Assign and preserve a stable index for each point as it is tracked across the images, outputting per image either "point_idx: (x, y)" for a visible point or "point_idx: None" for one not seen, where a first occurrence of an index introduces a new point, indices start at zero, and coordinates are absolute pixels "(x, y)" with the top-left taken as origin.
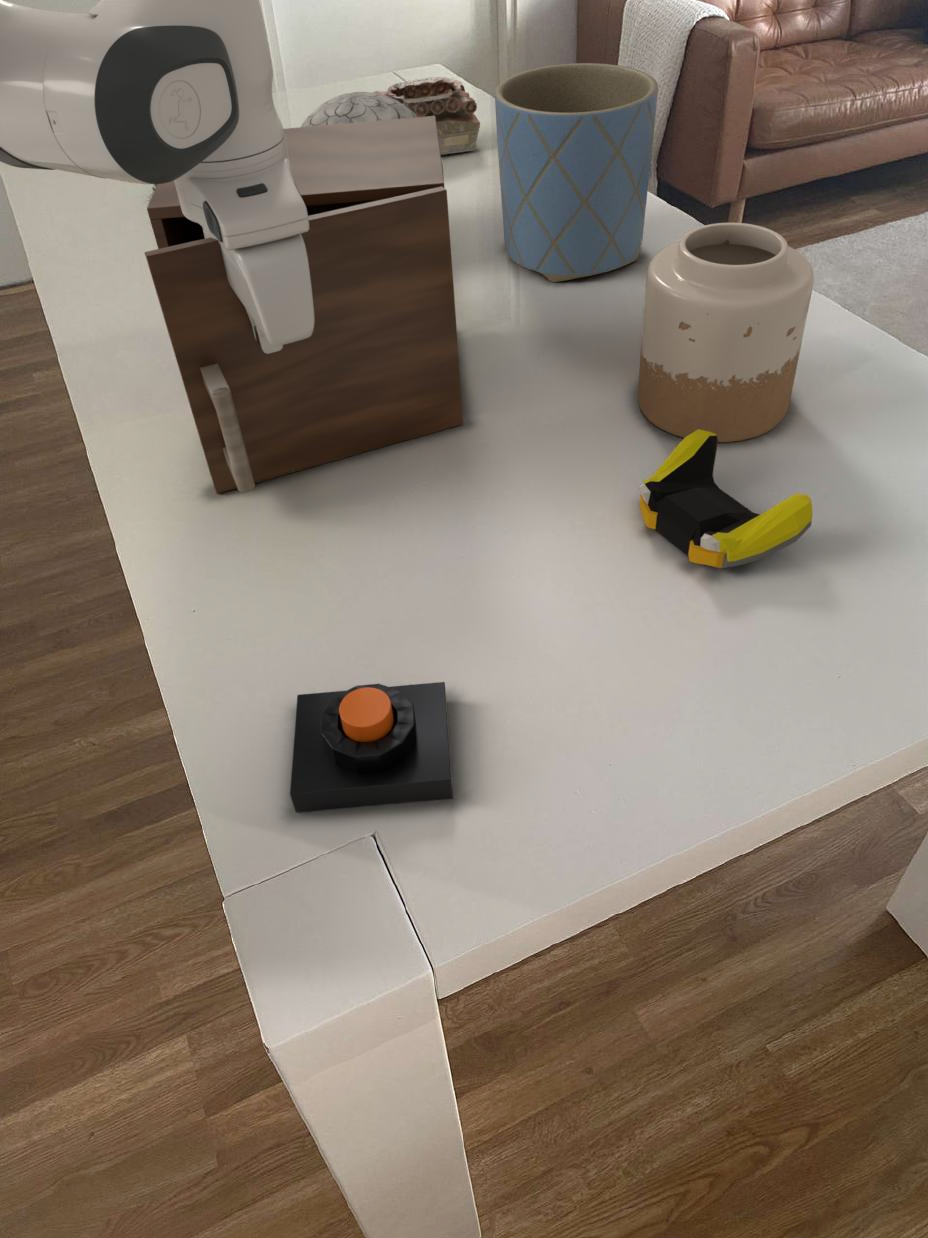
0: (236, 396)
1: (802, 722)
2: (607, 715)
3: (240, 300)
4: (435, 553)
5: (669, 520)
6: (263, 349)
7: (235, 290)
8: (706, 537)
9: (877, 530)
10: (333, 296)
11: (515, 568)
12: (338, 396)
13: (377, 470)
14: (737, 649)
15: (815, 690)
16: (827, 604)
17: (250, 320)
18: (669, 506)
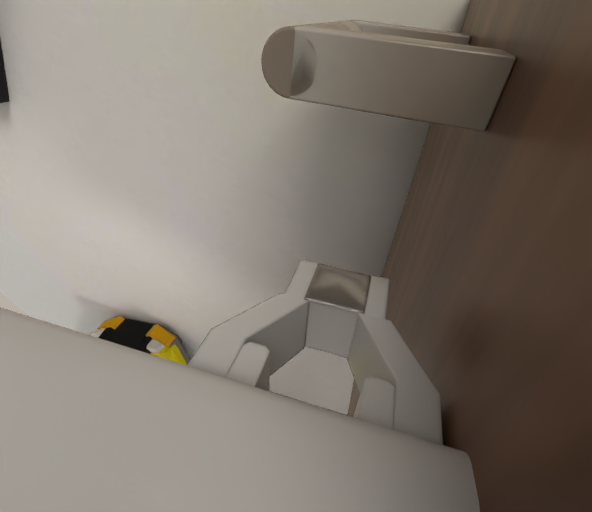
0: (458, 129)
1: (3, 265)
2: (2, 193)
3: (247, 393)
4: (187, 200)
5: (133, 335)
6: (300, 264)
7: (283, 443)
8: (92, 335)
9: None
10: None
11: (148, 238)
12: (391, 282)
13: (349, 233)
14: (53, 281)
15: (24, 284)
16: (81, 330)
17: (385, 327)
18: (133, 344)
